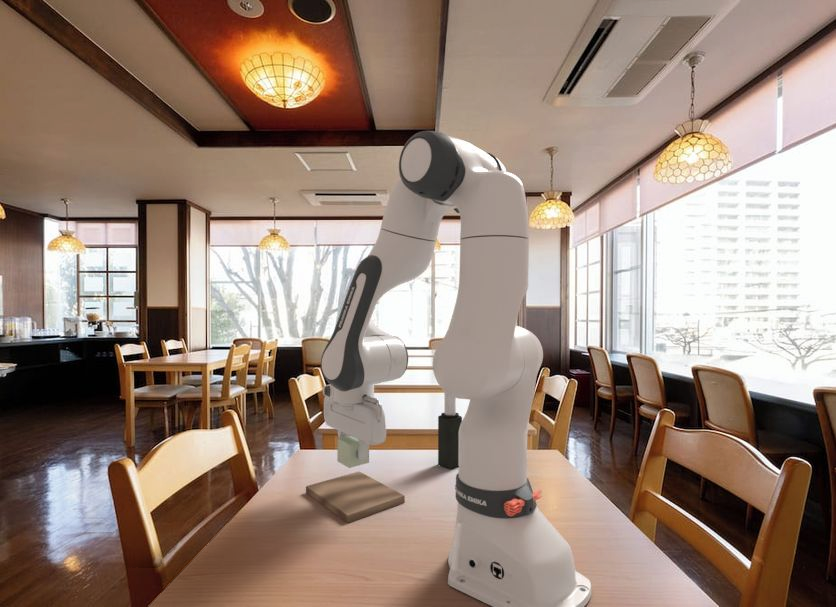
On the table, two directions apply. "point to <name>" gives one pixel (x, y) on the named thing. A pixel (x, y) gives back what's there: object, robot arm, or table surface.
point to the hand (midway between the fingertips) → (353, 454)
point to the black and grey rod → (448, 434)
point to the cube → (349, 452)
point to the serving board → (354, 496)
